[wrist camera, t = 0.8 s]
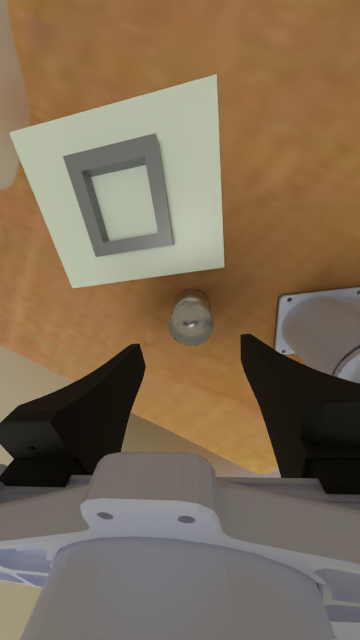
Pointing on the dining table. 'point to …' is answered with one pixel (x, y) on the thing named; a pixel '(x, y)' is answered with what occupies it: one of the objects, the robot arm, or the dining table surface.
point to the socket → (131, 185)
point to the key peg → (191, 318)
